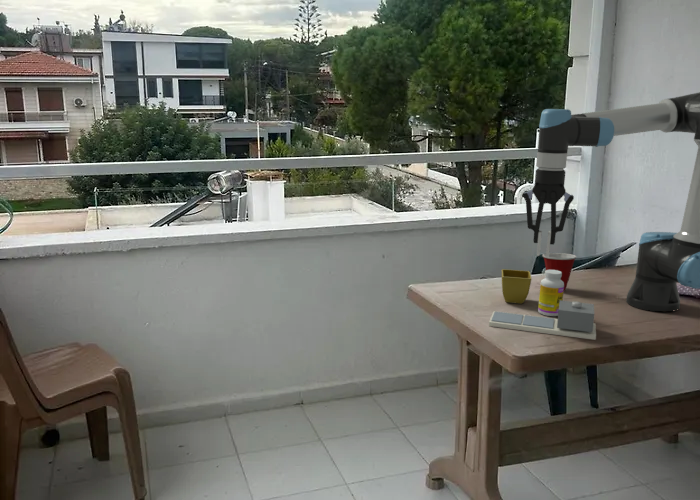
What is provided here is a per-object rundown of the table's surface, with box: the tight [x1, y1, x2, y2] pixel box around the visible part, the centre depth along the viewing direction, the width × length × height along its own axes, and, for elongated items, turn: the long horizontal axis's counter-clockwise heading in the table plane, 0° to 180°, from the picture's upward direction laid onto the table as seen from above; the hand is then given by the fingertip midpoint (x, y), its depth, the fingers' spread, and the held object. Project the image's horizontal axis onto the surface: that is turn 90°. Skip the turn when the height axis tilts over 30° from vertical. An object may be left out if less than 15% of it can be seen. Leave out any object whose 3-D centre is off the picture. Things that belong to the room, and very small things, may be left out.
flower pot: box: [501, 268, 533, 305], centre depth 201 cm, size 9×9×9 cm
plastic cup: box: [542, 252, 577, 292], centre depth 214 cm, size 11×11×12 cm
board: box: [488, 310, 597, 341], centre depth 180 cm, size 28×10×2 cm, turn 71°
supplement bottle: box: [537, 269, 565, 317], centre depth 190 cm, size 7×7×13 cm
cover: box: [557, 300, 595, 332], centre depth 176 cm, size 9×9×6 cm
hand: (542, 255), depth 175 cm, fingers open, 2 cm apart
